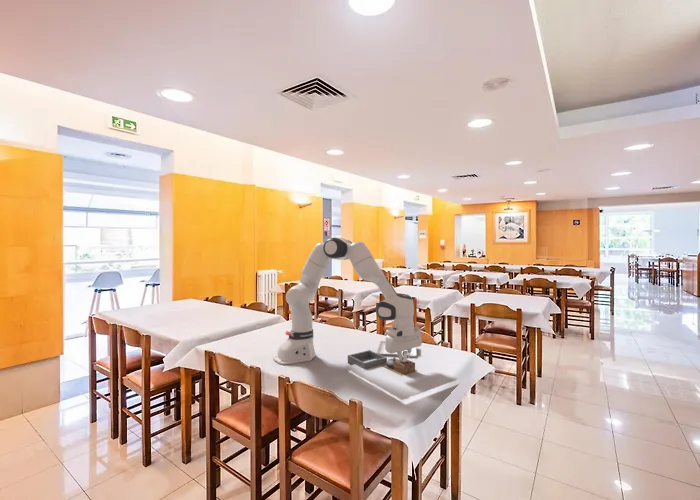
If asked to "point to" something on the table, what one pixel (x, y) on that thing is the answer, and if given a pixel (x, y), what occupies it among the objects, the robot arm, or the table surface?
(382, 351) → the salad plate
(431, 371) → the table surface
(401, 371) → the pulley bracket
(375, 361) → the tray
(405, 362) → the lock pin
